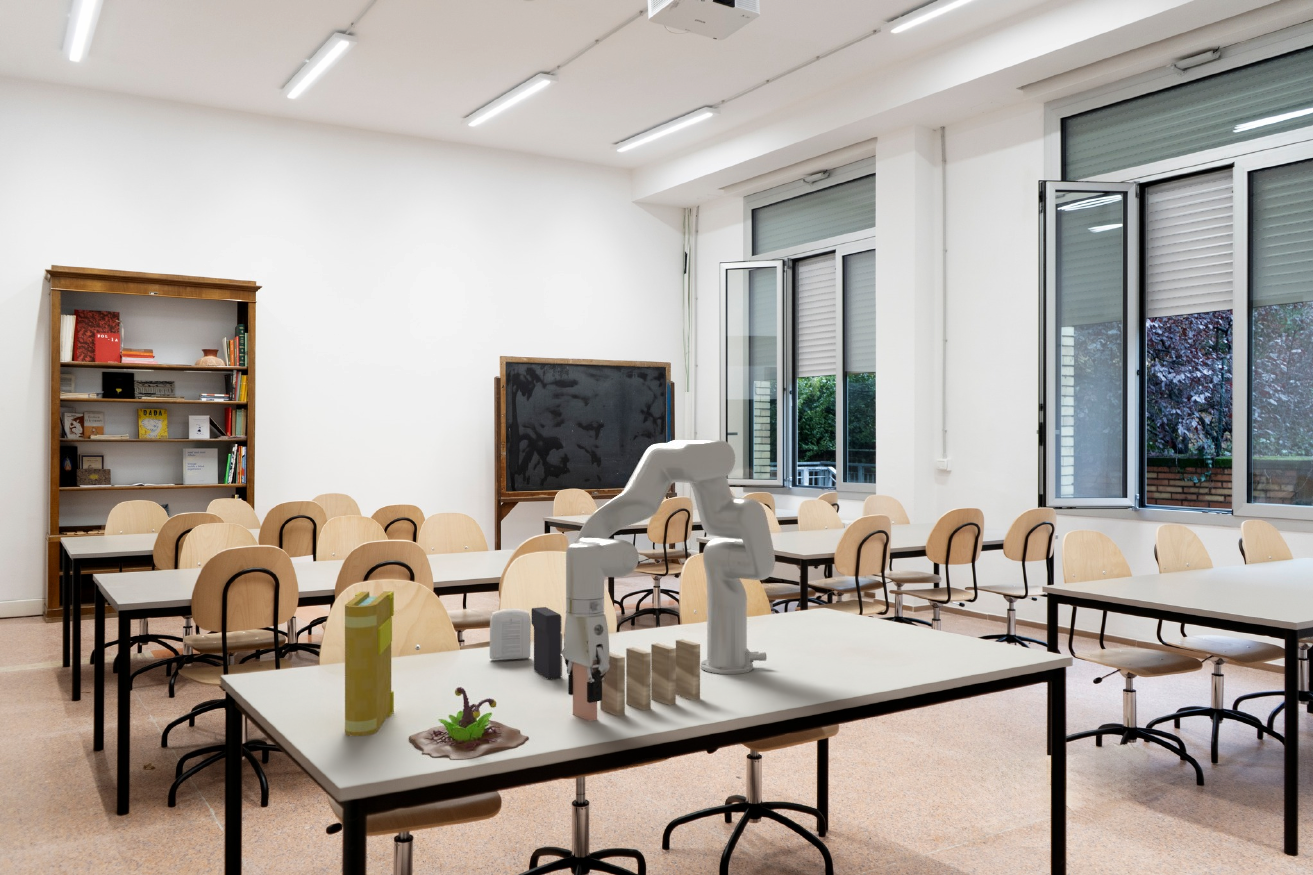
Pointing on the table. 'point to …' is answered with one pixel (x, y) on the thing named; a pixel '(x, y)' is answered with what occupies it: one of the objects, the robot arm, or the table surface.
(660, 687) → the domino
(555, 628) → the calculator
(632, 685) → the domino
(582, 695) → the domino
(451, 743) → the plant
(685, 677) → the domino
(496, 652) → the grey headstone
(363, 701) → the book
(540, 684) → the table surface
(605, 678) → the domino
